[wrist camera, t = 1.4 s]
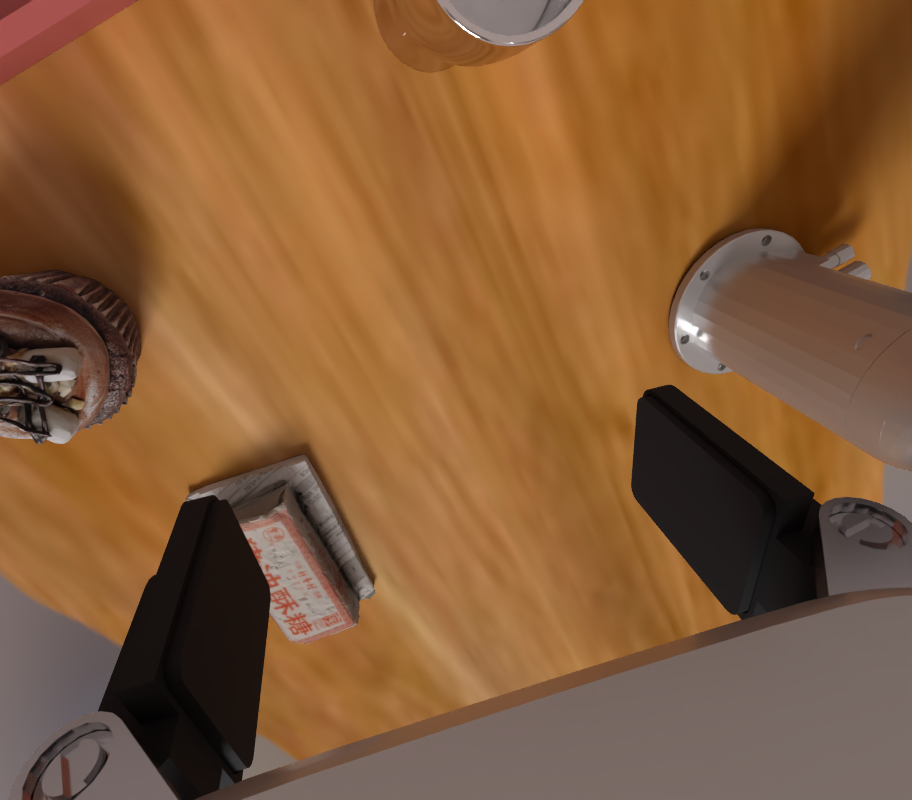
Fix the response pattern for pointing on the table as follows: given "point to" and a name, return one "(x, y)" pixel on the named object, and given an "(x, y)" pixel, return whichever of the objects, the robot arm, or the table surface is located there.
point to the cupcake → (62, 355)
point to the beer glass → (466, 29)
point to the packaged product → (298, 547)
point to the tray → (46, 28)
